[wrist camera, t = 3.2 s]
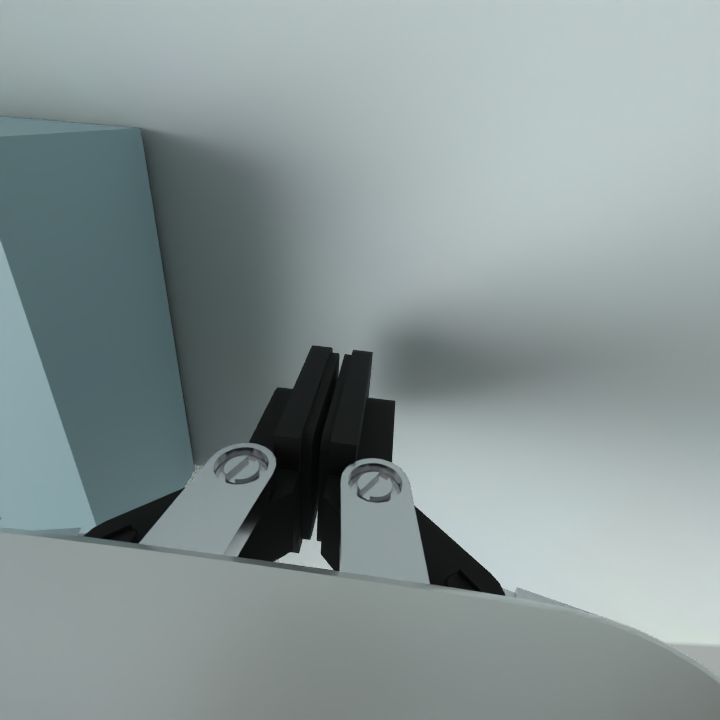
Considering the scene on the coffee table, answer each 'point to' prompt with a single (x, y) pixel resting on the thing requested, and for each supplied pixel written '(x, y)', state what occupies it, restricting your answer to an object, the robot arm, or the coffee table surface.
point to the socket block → (83, 330)
